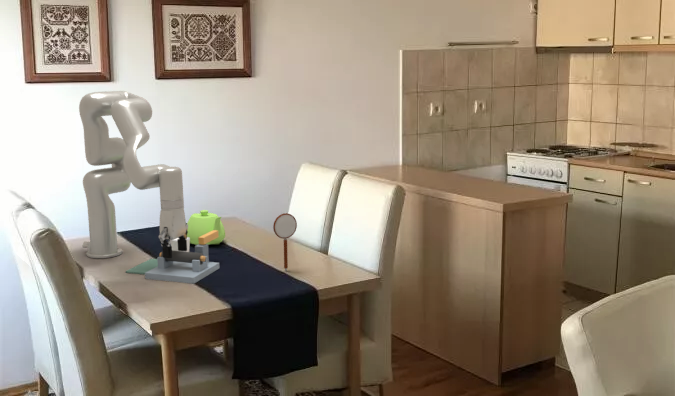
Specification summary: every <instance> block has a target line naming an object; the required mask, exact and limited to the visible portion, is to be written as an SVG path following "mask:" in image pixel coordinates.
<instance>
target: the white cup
mask: <svg viewBox="0 0 675 396" xmlns="http://www.w3.org/2000/svg"><path fill="white" fill-rule="evenodd" d="M177 239H179V238H176V239H174V240H172V242H171V245H170V246H172V251H179V250H178V241H177ZM186 240H187V251H184V252H190V247H191V246H190V244H191V243H190V238H189V237H187V239H186Z"/></svg>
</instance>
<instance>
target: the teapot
mask: <svg viewBox="0 0 675 396" xmlns="http://www.w3.org/2000/svg"><path fill="white" fill-rule="evenodd" d="M199 212H200V213H199ZM199 212H198V213H196V212H195V213H192V214H191V215H190V217H189V219H188V221H187V222H186V224H188V230H187V231H188V233H187V237H189V238H190V244H192V245H195V246H196V245H198V244H199V240H198V237H200V236H202V235H204V234H206V233H209V232H211V231H213V230H217V231H218V234H219V237H218V238H216V239H214V240H212V241H210V242H208V243H206V244H208V246H210V245H220V243H222V242H223V240H224V239H225V238H226V230H225V227H224V224H223V221H222V220H221V219H222V218H223V216H218V214H216V213H213V212H209V210H208V209H202V210H199Z"/></svg>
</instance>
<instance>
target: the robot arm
mask: <svg viewBox="0 0 675 396" xmlns="http://www.w3.org/2000/svg"><path fill="white" fill-rule="evenodd" d="M78 109H79V110H78V111H79V112H78V113H79V116H80V120H81V123H82V127H83V128H82V129H83V139H84V142H83V143H84V153H85V158H86V162H87V163H88V164H89V165H91V166H92V167H93V166H94V167H96V166H97V167H98V166H99V167H100V166H108V165H111V167H104V168H97V169H92V170H90V171H88V172H86V173H85V175H84V176H83V178H82V186H83V190H84V194H85V198H86V205H87V218H88V232H89V233H88V234H89V241H83V243H82V245H81V246H82V248H84V249H87V251H86V257H88V258H92V259H108V258H113V257H114V258H115V257H117V256H120V255H121V254H122V253H123V249H122V248H120V247H118V236H117V232H118V231H117V219H116V207H115V203H114V202H113V200H112V199H111V197H110V196H109V195H112V194H117V193H123V192H126V191H127V190H129V188H130V186H131V184H132V186H133V187H134V188H136V189H137V190H141V191H143V190H144V191H145V190H150V189H154V188H159V199H160V212H159V235H158V239H159V243H160V245H161V247H162V249H161V250H162V251H163V258H172V246H171V242H172V240H174V239H176V238H179V239H177V241H178V250H179V251H187V240H186V239H187V233H188V231H187V230H188V224H187V222H186V221H187V220H186V213H185V202H184V201H185V200H184V186H183V171H182V169H181V168H180V167H178V166H170V165H167V164H161V163H160V164H154V165H146V166H141V163H140V162H139V159H138V157H137V150H138V149H140V148H141V147H143V146H145V144H147V142H149V140H150V139H151V138H150V133H149V131H148V129H147V127H146V126H145V124H144V123H147V122H149V121H150V120H151V119H152V116H153V109H152V106H151V104H150V102H149V101H148V100H147V99H145V98H143V97H141V96H139V95H136V94H134V93H131V92H129V91H125V90H113V91H112V90H110V91H109V90H108V91H94V92H89V93H86V94H85V95H83V96H82V97H81V99H80V101H79V106H78ZM107 116H111V118H112V119H113V122H114V124H115V125H116V128H117V130H118V132H119V133H120V135H121V137H117V136H116V137H115V136H114V137H110V134H109V132H110V130H109V129H110V128H109V125H108V123H107V122H106V120H105V118H103V117H107Z"/></svg>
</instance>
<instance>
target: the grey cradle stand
mask: <svg viewBox="0 0 675 396" xmlns="http://www.w3.org/2000/svg"><path fill="white" fill-rule="evenodd" d="M194 252H195V253H203V256H205V257H206V260H205V261H203V262H202V264H200V260H192V263H186V262H175V261H165V258H163V257H160V256H157V258H156V259H157V262H158V266H157V267H155V268H153V269H151V270H149V271H147V272H146V273H145V275H144V279H145V280H152V281H153V280H156V281H166V282H173V283H185V284H192V285H193V284H196V283H197V282H199V281H200V280H202V279H205V278H206V277H208V276H209V275H211V274H213V273H214V272H216V271H217V270H220V262H214V261H210V260H209V258H210V257H209V256H210V255H209V245H208V244H204V245H202V244H198V245H195V246H194Z"/></svg>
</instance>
